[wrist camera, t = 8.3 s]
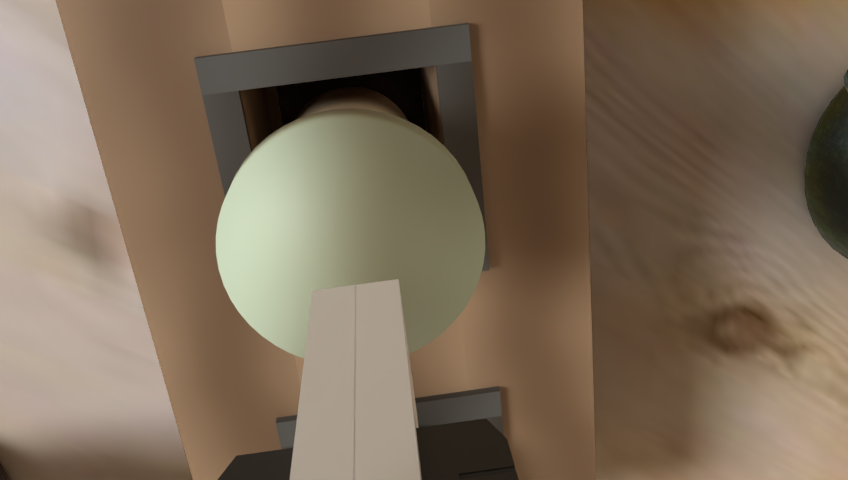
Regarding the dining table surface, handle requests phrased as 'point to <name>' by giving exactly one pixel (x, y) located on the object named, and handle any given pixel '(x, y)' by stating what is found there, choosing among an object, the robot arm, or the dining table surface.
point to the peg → (349, 219)
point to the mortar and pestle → (2, 474)
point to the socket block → (445, 120)
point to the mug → (830, 173)
